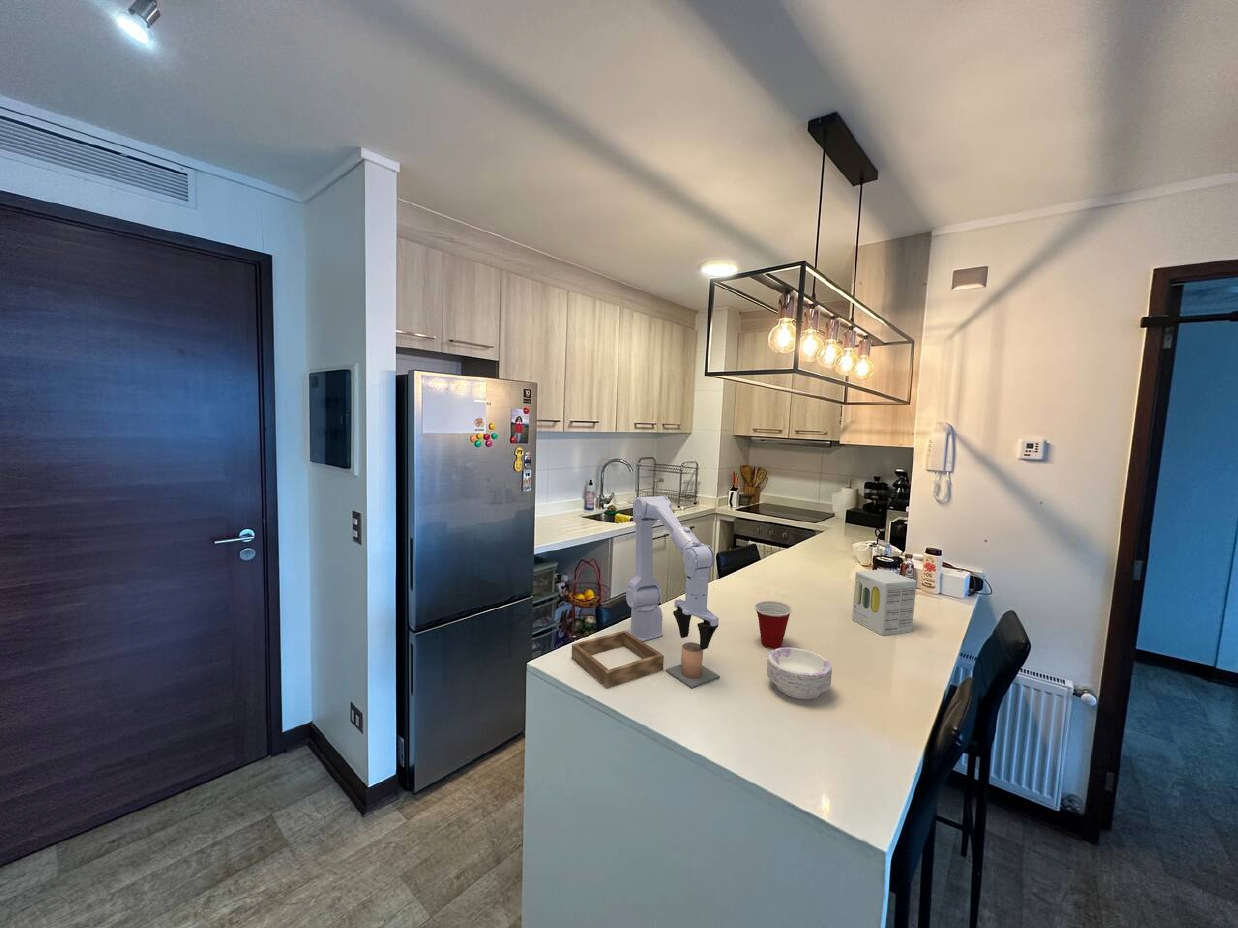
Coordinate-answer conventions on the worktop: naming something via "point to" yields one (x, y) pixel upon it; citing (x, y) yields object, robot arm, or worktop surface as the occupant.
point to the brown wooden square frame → (621, 674)
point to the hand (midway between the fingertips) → (694, 642)
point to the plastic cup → (772, 622)
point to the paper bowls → (799, 672)
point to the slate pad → (691, 683)
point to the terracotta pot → (691, 660)
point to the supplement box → (884, 601)
